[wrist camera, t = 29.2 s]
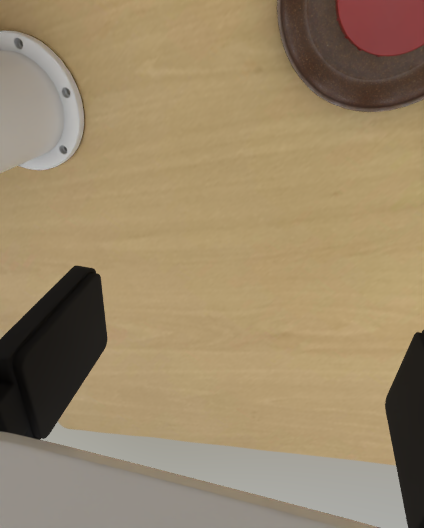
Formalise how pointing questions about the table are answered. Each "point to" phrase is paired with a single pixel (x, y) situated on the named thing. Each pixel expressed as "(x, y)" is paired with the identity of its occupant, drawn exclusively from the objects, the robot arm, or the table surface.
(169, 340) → the table surface
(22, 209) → the table surface
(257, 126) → the table surface
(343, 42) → the saucer
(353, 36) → the lid
